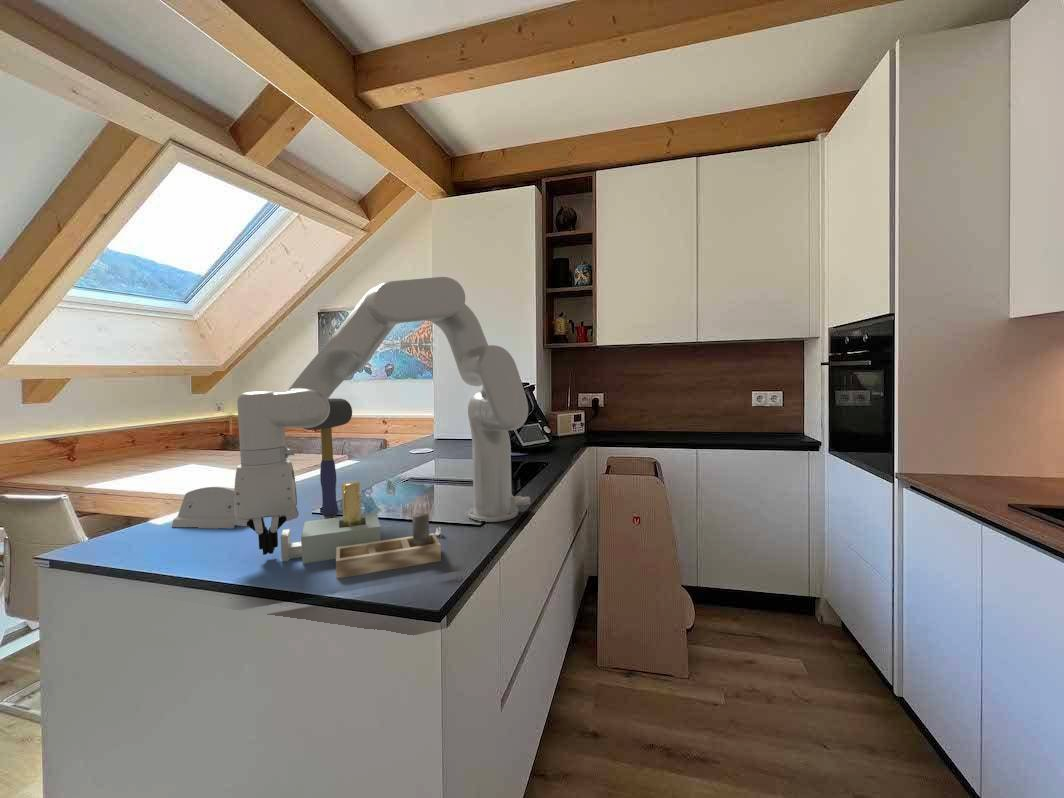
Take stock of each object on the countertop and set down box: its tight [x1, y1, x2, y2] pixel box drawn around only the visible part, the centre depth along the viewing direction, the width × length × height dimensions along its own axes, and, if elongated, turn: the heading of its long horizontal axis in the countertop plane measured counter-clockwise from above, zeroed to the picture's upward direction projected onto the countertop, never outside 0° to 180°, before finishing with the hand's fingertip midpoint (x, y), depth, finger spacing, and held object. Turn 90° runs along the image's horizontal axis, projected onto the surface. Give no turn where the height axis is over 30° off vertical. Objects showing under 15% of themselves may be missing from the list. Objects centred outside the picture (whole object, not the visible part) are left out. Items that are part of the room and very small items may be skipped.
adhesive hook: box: [434, 527, 442, 538], centre depth 101 cm, size 3×3×3 cm
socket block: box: [300, 512, 382, 565], centre depth 95 cm, size 14×10×6 cm
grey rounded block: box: [171, 486, 236, 529], centre depth 116 cm, size 17×5×10 cm, turn 83°
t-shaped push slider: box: [280, 528, 302, 562], centre depth 92 cm, size 8×4×5 cm, turn 112°
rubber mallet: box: [303, 398, 353, 519], centre depth 118 cm, size 12×8×30 cm, turn 159°
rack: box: [335, 512, 442, 579], centre depth 87 cm, size 18×7×9 cm, turn 112°
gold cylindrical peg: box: [341, 481, 362, 527], centre depth 95 cm, size 3×3×13 cm
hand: (269, 551), depth 90 cm, fingers closed
